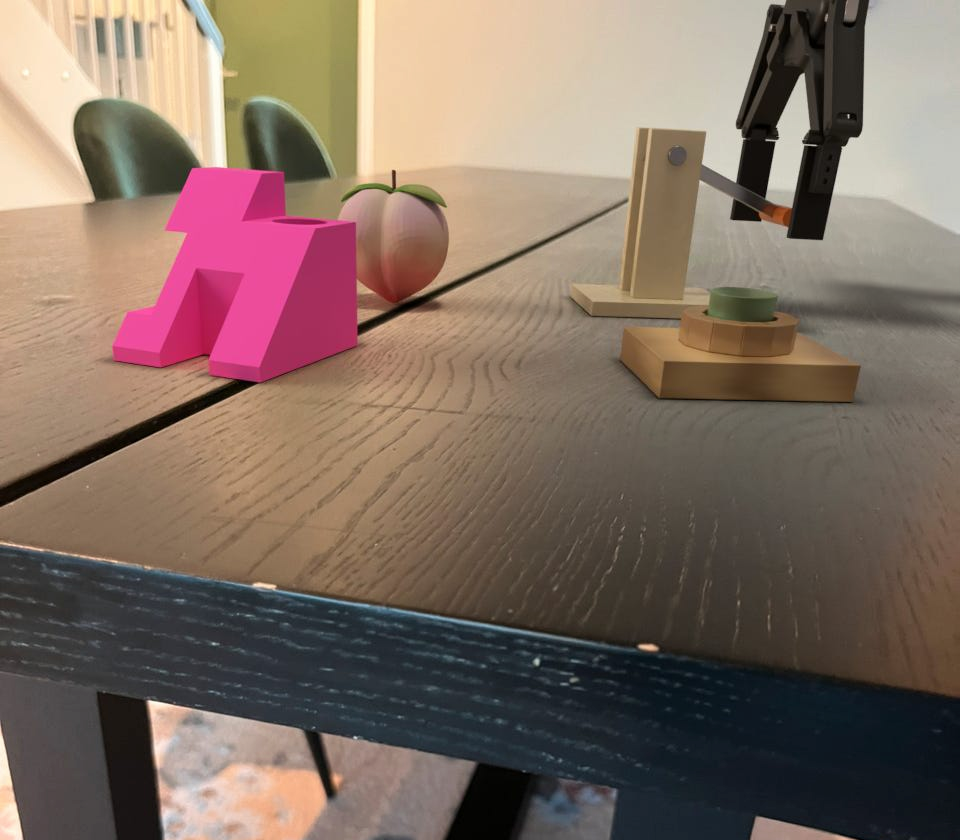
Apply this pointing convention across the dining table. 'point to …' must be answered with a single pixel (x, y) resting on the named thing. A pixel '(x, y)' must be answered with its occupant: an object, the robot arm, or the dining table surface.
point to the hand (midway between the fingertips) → (772, 229)
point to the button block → (737, 360)
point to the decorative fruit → (397, 236)
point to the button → (742, 304)
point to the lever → (746, 197)
